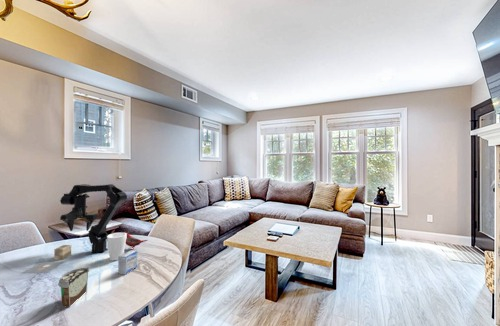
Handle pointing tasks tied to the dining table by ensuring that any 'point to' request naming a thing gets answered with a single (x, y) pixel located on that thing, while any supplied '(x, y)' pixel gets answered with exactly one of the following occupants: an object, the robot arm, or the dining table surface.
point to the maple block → (62, 252)
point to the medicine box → (127, 262)
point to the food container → (73, 285)
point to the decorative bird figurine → (133, 241)
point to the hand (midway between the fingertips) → (79, 230)
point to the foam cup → (116, 245)
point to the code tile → (43, 267)
